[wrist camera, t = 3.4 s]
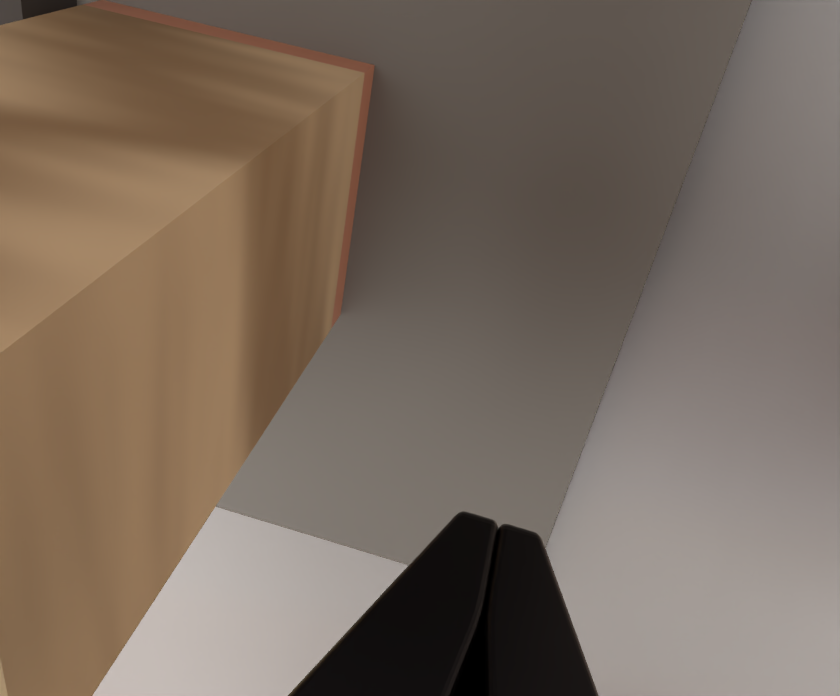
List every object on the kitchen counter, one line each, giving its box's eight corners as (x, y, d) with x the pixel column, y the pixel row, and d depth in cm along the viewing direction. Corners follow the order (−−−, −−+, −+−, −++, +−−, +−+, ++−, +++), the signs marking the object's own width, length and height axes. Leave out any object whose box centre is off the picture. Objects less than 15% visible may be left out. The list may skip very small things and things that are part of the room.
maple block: (375, 65, 13) (-52, 393, 5) (340, 314, 16) (27, 795, 8) (102, -1, 14) (-698, 198, 6) (114, 252, 17) (-409, 642, 8)
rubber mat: (888, -380, 10) (940, -431, 8) (527, 584, 20) (518, 652, 18) (-609, -637, 12) (-810, -718, 10) (-254, 349, 22) (-328, 389, 20)
